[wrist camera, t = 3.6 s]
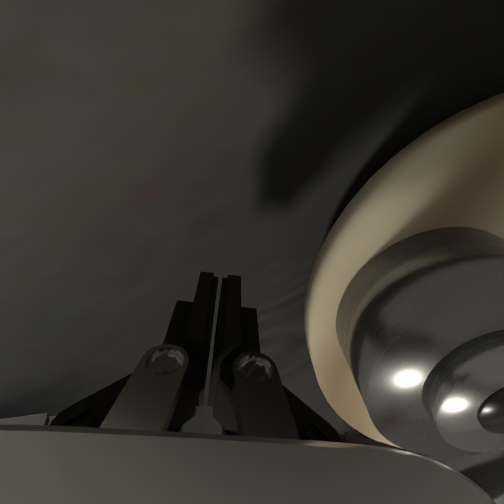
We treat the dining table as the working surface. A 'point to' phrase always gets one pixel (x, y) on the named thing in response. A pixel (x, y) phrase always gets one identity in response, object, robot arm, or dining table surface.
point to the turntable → (403, 229)
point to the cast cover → (430, 341)
